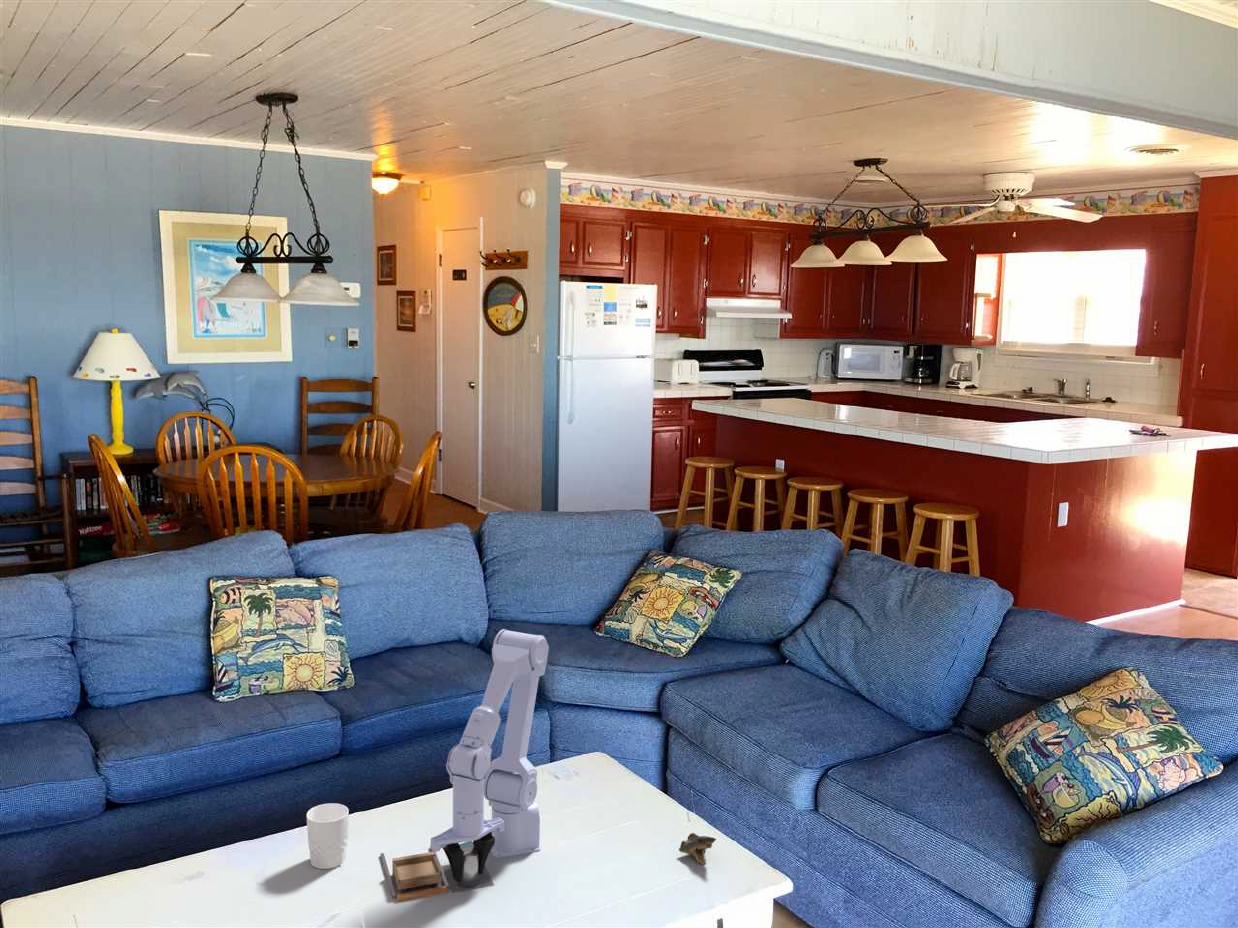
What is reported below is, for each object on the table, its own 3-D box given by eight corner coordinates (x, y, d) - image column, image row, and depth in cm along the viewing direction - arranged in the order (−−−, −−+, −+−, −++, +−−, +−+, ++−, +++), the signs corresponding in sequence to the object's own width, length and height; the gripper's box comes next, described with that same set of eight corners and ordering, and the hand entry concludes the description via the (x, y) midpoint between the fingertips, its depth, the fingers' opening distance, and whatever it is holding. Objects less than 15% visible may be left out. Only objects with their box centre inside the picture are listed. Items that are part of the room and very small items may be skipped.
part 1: (471, 859, 199) (471, 840, 199) (480, 868, 196) (480, 848, 196) (452, 865, 197) (452, 846, 196) (462, 874, 194) (462, 854, 193)
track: (432, 848, 204) (432, 843, 203) (450, 893, 188) (450, 887, 188) (380, 857, 200) (380, 851, 200) (393, 903, 184) (393, 897, 184)
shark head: (721, 869, 200) (728, 838, 199) (694, 871, 197) (701, 839, 196) (700, 847, 207) (708, 817, 206) (674, 849, 204) (681, 818, 204)
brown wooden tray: (434, 868, 196) (434, 851, 196) (441, 888, 189) (441, 870, 189) (392, 875, 193) (392, 858, 193) (398, 896, 186) (398, 878, 186)
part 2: (475, 875, 194) (476, 845, 193) (480, 885, 190) (480, 855, 189) (455, 878, 192) (455, 849, 191) (459, 889, 188) (459, 859, 188)
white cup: (337, 873, 194) (336, 824, 192) (299, 868, 195) (298, 819, 194) (355, 853, 201) (355, 805, 200) (319, 848, 203) (318, 801, 201)
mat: (481, 860, 200) (481, 858, 200) (494, 886, 190) (494, 884, 190) (441, 866, 197) (441, 865, 197) (452, 893, 188) (452, 892, 187)
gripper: (491, 789, 197) (491, 855, 198) (423, 808, 188) (423, 877, 190) (510, 803, 191) (509, 871, 193) (440, 824, 182) (440, 894, 184)
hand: (467, 875), depth 191 cm, fingers closed on part 2, 4 cm apart
